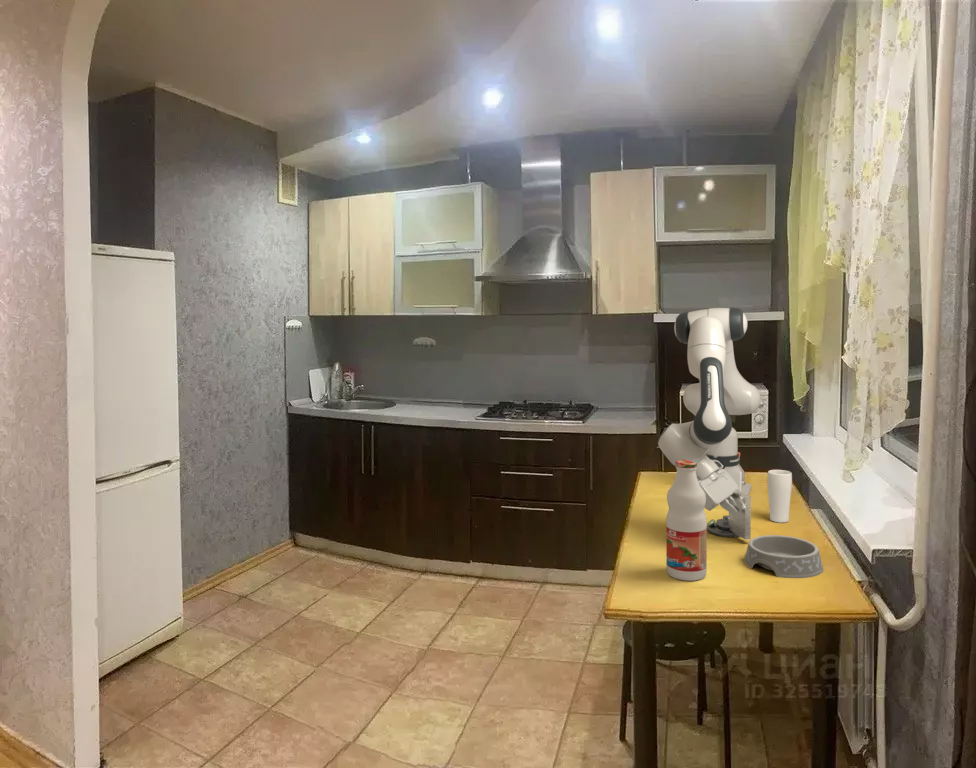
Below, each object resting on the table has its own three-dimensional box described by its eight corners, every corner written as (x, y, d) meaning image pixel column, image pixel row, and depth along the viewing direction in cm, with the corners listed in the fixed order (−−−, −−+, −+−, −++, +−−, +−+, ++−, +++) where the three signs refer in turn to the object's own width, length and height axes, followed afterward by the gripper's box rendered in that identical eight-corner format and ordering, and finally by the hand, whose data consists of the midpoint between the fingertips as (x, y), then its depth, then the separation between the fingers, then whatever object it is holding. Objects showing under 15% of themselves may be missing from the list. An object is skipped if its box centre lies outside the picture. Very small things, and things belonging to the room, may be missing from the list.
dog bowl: (799, 585, 157) (800, 562, 156) (730, 563, 171) (730, 543, 171) (836, 567, 167) (837, 546, 166) (768, 548, 181) (768, 529, 181)
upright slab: (712, 524, 198) (712, 484, 197) (731, 523, 199) (731, 483, 198) (737, 540, 184) (737, 497, 183) (758, 538, 185) (758, 495, 184)
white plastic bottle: (715, 577, 162) (715, 462, 159) (683, 584, 158) (683, 467, 155) (688, 564, 170) (688, 456, 168) (658, 571, 167) (657, 460, 164)
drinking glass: (795, 523, 201) (796, 474, 199) (772, 524, 201) (773, 475, 199) (785, 517, 207) (785, 469, 206) (763, 517, 207) (763, 469, 206)
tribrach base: (714, 523, 203) (714, 515, 203) (752, 529, 197) (752, 521, 197) (701, 533, 195) (701, 525, 194) (740, 539, 188) (740, 531, 188)
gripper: (696, 474, 180) (733, 516, 175) (721, 460, 196) (755, 498, 191) (680, 488, 183) (716, 529, 178) (706, 473, 199) (739, 511, 194)
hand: (737, 513), depth 185 cm, fingers closed
